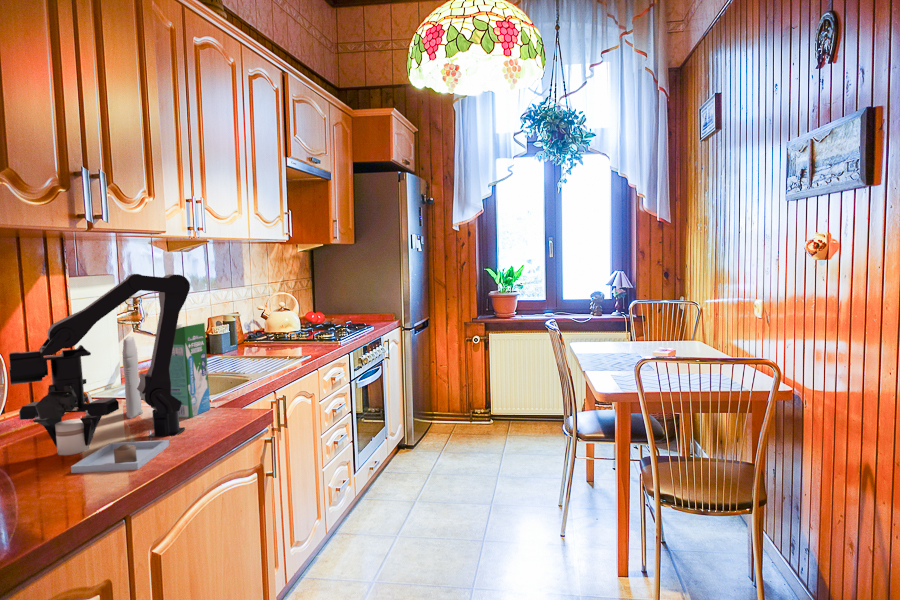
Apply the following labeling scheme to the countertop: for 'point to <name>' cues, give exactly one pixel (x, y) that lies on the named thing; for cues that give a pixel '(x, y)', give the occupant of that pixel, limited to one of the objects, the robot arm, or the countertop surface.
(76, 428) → the cream lidded jar
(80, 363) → the robot arm
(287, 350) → the countertop surface
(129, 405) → the tall pale column
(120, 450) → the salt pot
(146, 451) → the tray
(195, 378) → the milk carton
